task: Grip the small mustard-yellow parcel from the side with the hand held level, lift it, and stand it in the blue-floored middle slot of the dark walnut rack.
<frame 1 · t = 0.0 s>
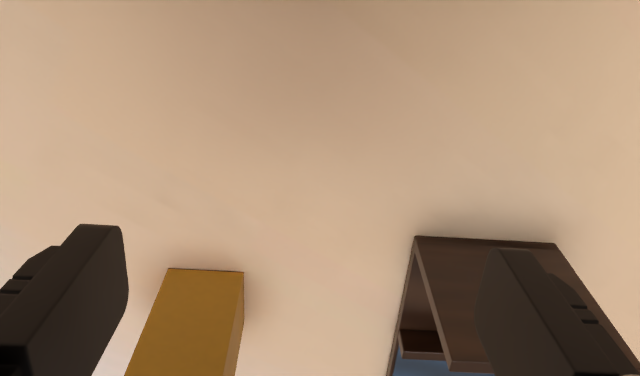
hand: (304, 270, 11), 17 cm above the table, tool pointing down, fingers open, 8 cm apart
parcel: (207, 296, 34), on the table
rack: (449, 363, 37), on the table
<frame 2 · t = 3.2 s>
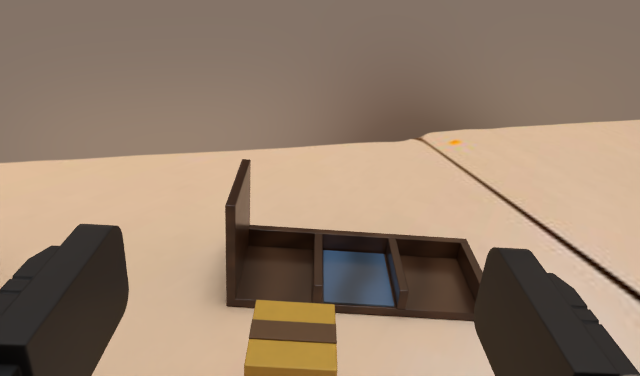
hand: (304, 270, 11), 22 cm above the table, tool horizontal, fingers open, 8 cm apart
rack: (354, 281, 47), on the table
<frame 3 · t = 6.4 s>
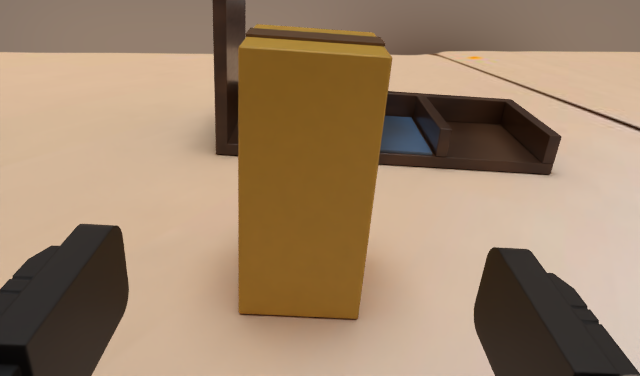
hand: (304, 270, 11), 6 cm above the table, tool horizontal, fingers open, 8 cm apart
parcel: (300, 278, 21), on the table
rack: (377, 141, 38), on the table
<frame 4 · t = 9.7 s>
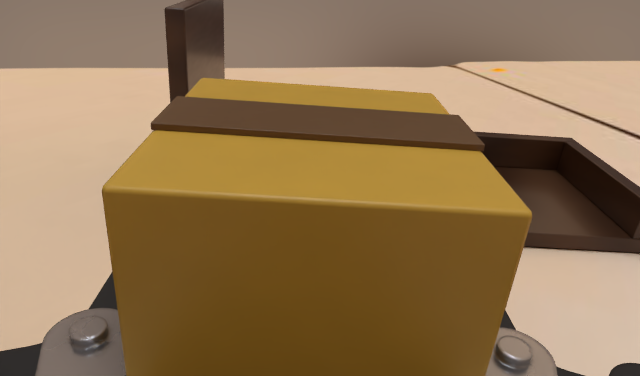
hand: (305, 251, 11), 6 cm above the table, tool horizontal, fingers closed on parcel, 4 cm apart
rack: (399, 198, 28), on the table
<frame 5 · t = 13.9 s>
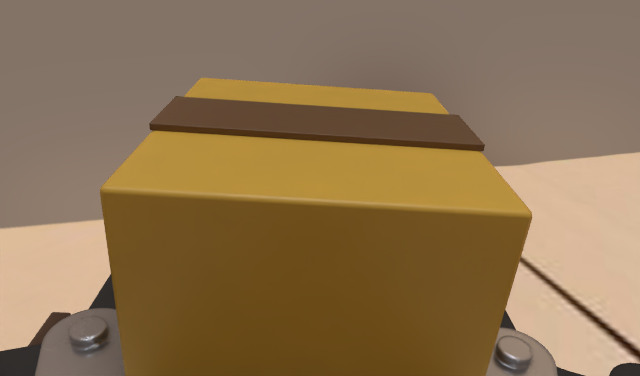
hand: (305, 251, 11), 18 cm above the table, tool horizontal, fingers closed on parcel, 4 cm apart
when the fingers open (7 cm above the table, at t = 17.9 s): parcel stays where it is, resting on rack.
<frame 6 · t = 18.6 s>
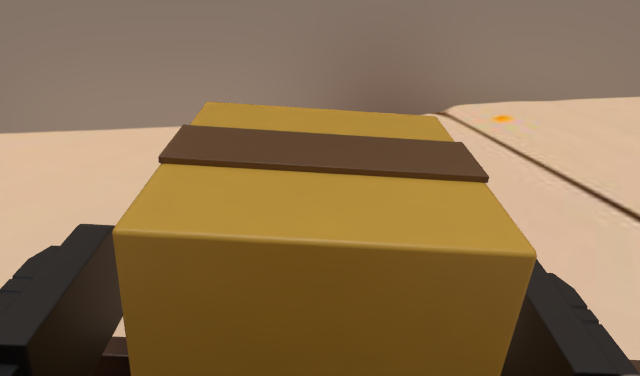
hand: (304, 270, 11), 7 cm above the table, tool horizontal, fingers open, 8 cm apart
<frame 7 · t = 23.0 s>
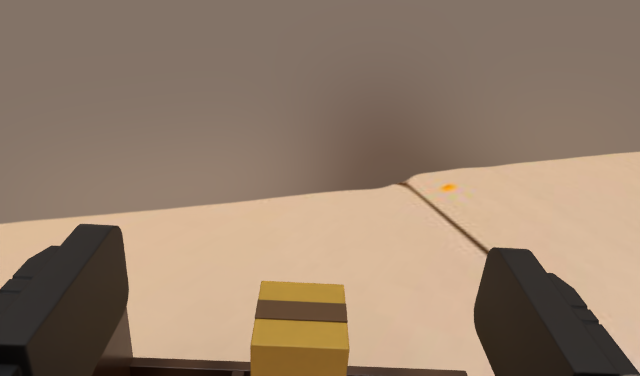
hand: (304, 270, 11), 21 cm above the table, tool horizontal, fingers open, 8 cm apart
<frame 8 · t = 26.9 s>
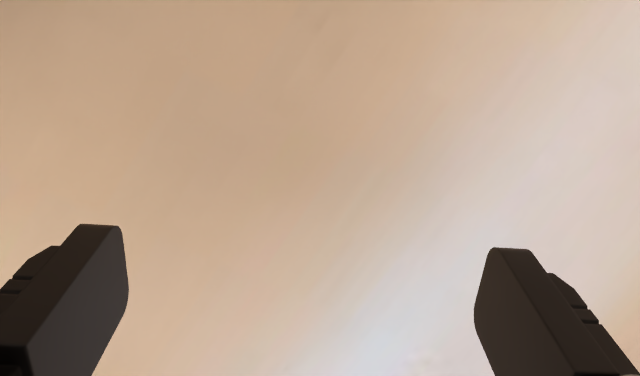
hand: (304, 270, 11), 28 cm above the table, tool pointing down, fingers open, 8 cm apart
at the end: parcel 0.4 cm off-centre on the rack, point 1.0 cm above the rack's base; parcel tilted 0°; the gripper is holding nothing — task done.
